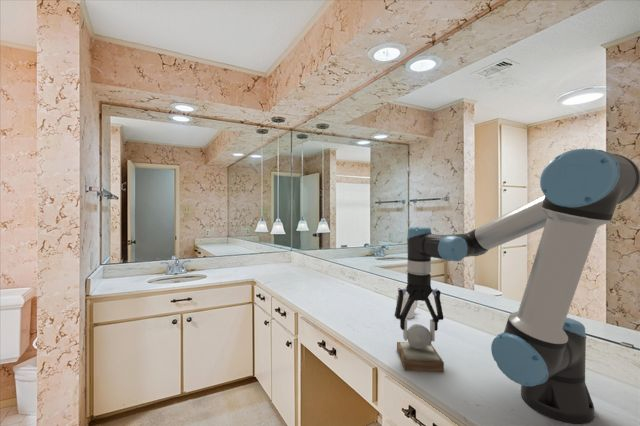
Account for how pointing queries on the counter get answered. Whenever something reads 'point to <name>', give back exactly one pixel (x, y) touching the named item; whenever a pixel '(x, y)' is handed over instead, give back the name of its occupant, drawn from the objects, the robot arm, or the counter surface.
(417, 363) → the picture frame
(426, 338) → the seashell
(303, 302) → the counter surface
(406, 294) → the mug
